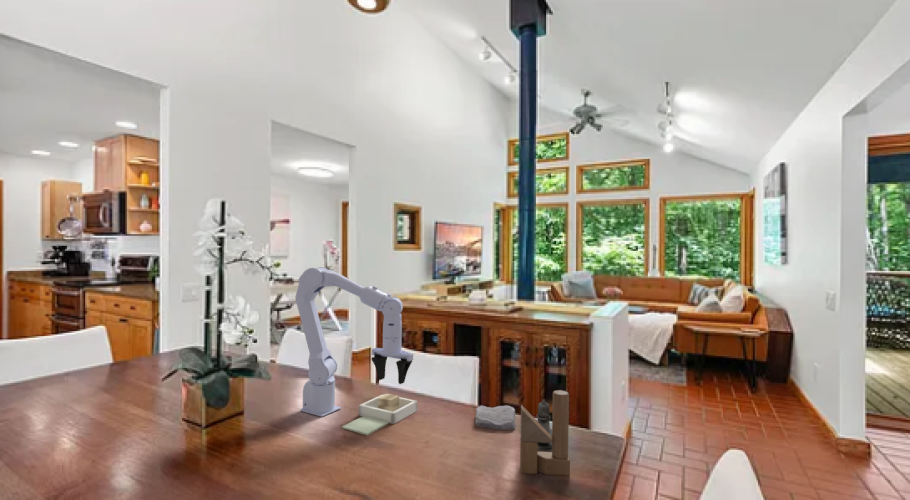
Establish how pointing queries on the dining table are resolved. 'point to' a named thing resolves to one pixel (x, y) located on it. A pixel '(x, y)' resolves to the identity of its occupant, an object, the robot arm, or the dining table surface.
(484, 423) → the stone block
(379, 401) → the wood block
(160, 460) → the dining table surface
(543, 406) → the salt shaker
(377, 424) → the pad
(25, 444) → the dining table surface
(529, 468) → the wooden block
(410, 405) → the box
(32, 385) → the dining table surface
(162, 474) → the dining table surface
